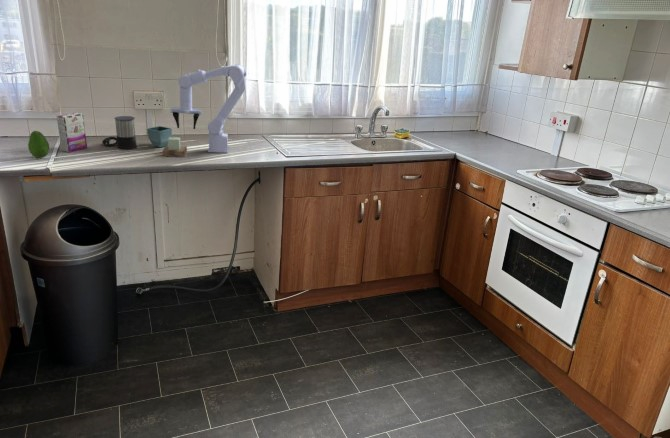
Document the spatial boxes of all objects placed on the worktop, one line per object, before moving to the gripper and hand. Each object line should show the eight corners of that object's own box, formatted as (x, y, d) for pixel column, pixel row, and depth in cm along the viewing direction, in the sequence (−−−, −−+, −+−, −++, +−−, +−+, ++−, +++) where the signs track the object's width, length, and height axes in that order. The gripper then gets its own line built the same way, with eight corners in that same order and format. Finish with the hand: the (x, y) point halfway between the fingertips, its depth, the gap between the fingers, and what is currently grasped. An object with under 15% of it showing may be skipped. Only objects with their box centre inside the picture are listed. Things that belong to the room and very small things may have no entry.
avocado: (28, 160, 217) (23, 132, 212) (32, 155, 224) (28, 128, 219) (48, 160, 219) (44, 132, 215) (52, 155, 226) (49, 128, 222)
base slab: (187, 151, 249) (186, 146, 248) (184, 156, 240) (184, 151, 239) (165, 150, 247) (165, 145, 246) (162, 155, 238) (162, 150, 237)
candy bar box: (79, 146, 243) (75, 112, 237) (87, 147, 242) (83, 113, 236) (60, 151, 233) (55, 115, 227) (69, 152, 232) (64, 117, 226)
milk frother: (137, 150, 245) (135, 119, 239) (101, 150, 239) (98, 119, 234) (136, 143, 257) (134, 113, 251) (102, 143, 251) (99, 113, 246)
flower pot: (147, 146, 253) (146, 128, 250) (160, 143, 260) (159, 125, 257) (160, 149, 249) (159, 131, 246) (173, 146, 257) (172, 128, 253)
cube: (180, 147, 245) (180, 137, 243) (179, 150, 240) (178, 139, 239) (170, 147, 244) (169, 136, 242) (168, 149, 240) (167, 139, 238)
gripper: (169, 100, 240) (169, 128, 245) (200, 102, 242) (200, 130, 247) (171, 98, 246) (172, 125, 251) (202, 100, 249) (202, 127, 254)
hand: (186, 128), depth 250 cm, fingers open, 7 cm apart
